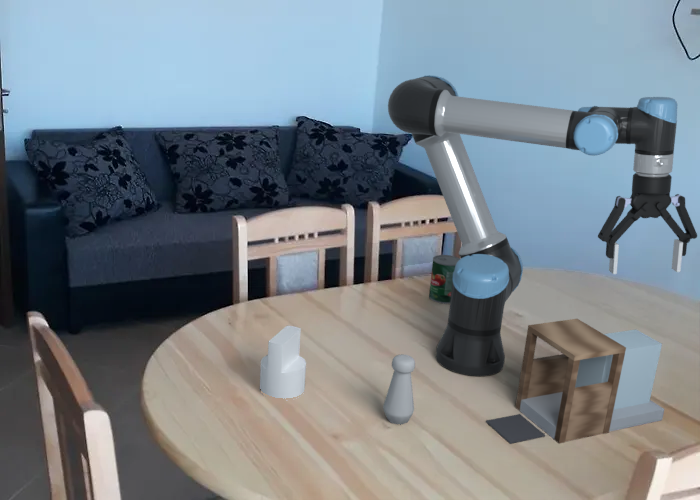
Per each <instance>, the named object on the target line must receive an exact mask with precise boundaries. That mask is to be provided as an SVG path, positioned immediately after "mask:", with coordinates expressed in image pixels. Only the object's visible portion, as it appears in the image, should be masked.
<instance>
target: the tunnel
mask: <svg viewBox="0 0 700 500" xmlns="http://www.w3.org/2000/svg"><path fill="white" fill-rule="evenodd" d="M604 334H605V333H602V332H600V331H599V330H597V329H595V328H594V327H592V326H590V325H589V324H587V322H584V321H582V320H581V319H579V318H572V319H571V318H570V319H566V320H564V319H563V320H557V321H549V322H542V323H535V324H534V323H533V324H528V325H527V331H526V338H525V343H524V351H523V356H522V362H521V363H522V364H521V369H520V376H519V382H518V388H517V396H516V399H515V400H516V401H515V407H514V408H515V409H517V410H518V411H519V412H520V405H521V400H523V399H527V398H532V397H538V396H543V395H548V394H554V393H559V392H563V393H562V399H561V404H560V410H559V415H558V421H557V426H556V432H555V438H554V439H553V440H554V441H555V442H557V443H558V444H562V443H563V444H564V443H565V442H569V441H574V440H579V439H584V438H589V437H595V436H598V435H604V434H608V433H610V432H609V429H610V424H611V420H612V415H613V410H614V405H615V400H616V395H617V390H618V385H619V380H620V375H621V371H622V366H623V361H624V356H625V351H626V347H624V346H623V345H621V344H619V343H618V342H616V341H614V340H613V339H611V338H609V337H607V336H606V335H604ZM538 338H539V339H541V340H542V341H543V342H545V343H547V344H548V345H550V346H551V347H552V348H553V349H555V350H557V351H558V352H560V353H562V354H555V355H550V356H543V357H536V358H535V352H536V348H537V347H536V345H537V339H538ZM607 355H613V358H612V363H611V368H610V373H609V378H608V382H604V383H598V384H593V385H587V386H582V387H576V388H575V385H576V380H577V374H578V369H579V363H580V360H582V359H588V358H595V357H601V356H607Z"/></svg>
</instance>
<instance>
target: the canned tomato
mask: <svg viewBox="0 0 700 500" xmlns="http://www.w3.org/2000/svg"><path fill="white" fill-rule="evenodd" d="M460 259H461V258H459V257H457V256H453V255H448V254H437V255H434V256H433V257H432V264H431V273H430V285H429V293H428V299H430V300H431V301H433V302H435V303H439V304H443V303H444V304H445V305H448V304H449V305H450V300H451V292H452V283H453V280H452V278H453V272H454V270H455V266H456V263H457V262H458V261H459V260H460Z"/></svg>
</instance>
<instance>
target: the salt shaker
mask: <svg viewBox="0 0 700 500" xmlns="http://www.w3.org/2000/svg"><path fill="white" fill-rule="evenodd" d="M391 368H392V370H393V373H392V376H391V380H390V383H389V386H388V390H387V392H386V396H385V400H384V403H383V406H382V407H383V408H382V409H383V412H384V414H385V416H386V419H387V420H388V421H389V422H390V423H391V424H394V425H398V424H400V426H401V424H402V425H405V424H407V423H408V422H409V421H410V420H411V418H412V416H413V414H414V411H415V406H414V405H415V403H414V393H413V384H412V383H413V382H412V372H414V370H415V368H416V360H415V358H413V357H412V356H411V355H408V354H397V355H395V356H393V359H392V361H391Z"/></svg>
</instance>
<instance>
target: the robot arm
mask: <svg viewBox="0 0 700 500" xmlns="http://www.w3.org/2000/svg"><path fill="white" fill-rule="evenodd" d="M387 102H388V103H387V110H388V116H389V119H390V120H391V122H392V124H393V125H394V126H395V127H397V129H399V130H400V131H402V132H404V133H406V134H411V136H412V139H413V141H414V143H415V145H417V146H419V147H421V148H423V149H424V151H425V153H426V156H427V157H428V158H427V159H428V160H429V162H430V166H431V168H432V170H433V173H434V176H435V178H436V182H437V183H438V185H439V188H440V191H441V194H442V196H443V199H444V201H445V204H446V207H447V210H448V211H449V214H450V216H451V219H452V222H453V224H454V226H455V230H456V232H457V234H458V237H459V239H460V242H461V247H459V251H458V256H459V257H460V260H459V261H458V262H457V263H456V266H455V270H454V272H453V278H452V280H453V283H452V292H451V300H450V304H449V308H448V319H447V325H446V327H445V329H444V332H443V333H442V335H441V337H440V340H439V341H438V344H437V346H436V351H435V353H436V354H435V359H436V361H437V362H438V364H439V365H441V366H442V367H444V368H445V369H447V370H449V371H451V372H453V373H456V374H461V375H465V376H472V377H487V376H492V375H495V374H498V373H500V372H501V371H502V370H503V368H504V364H505V358H506V357H505V351H504V346H503V339H502V336H501V330H502V323H503V317H504V316H503V315H504V309H505V304H506V303H507V300H508V299H509V298H510V296H511V295H512V293H513V292H515V290H516V289H517V288H518V287H519V285H520V283H521V280H522V277H523V273H524V272H523V271H524V267H523V266H524V265H523V260H522V257H521V256H520V255H519V252H518V251H516V249H515V248H513V247H512V246H511V245H510V242H509V240H508V238H507V237H508V236H507V235H506V234H504V233H502V232H499V230H497V227H496V224H495V222H494V219H493V217H492V214H491V211H490V209H489V206H488V204H487V202H486V201H487V200H486V198H485V197H484V196H485V195H484V194H483V191H482V189H481V185H480V183H479V181H478V177H477V175H476V173H475V170H474V168H473V164H472V162H471V159H470V158H469V154H468V152H467V150H466V146H465V144H464V141H463V138H462V136H461V135H463V136H464V135H466V136H471V137H472V136H473V137H481V138H487V139H496V140H502V141H510V142H517V143H525V144H532V145H538V146H539V145H540V146H549V147H556V148H563V149H569V150H572V151H580V153H581V152H582V153H583V154H585V155H588V156H593V157H594V156H601V155H603V154H605V153H607V152H608V151H610V150H611V149H612V148H613V146H615V145H616V144H617V145H619V144H621V145H622V144H624V145H625V144H626V145H634V157H633V158H634V159H633V169H632V170H633V172H635V173H634V174H633V175H632V181H631V182H632V183H631V185H632V186H631V195H630V196H629V197H622V196H621V195H618V196H615V200H614V205H613V208H612V210H611V212H610V213H609V215H608V217H607V218H606V220H605V222H604V224H603V225H602V227H601V229H600V230H599V233H598V235H597V238H598V239H599V240H600V241H602V242H605V243H606V244H605V245H606V247H605V256H606V257H607V258H608V259H609V263H608V264H609V265H608V271H609V272H610V273H611V274H612V275H617V274H618V261H619V249H620V247H619V246H620V245H619V244H618V243H617V242H618V240H619V239H621V237H622V236H623V235H624V234H625V233H626V232H627V231H628V229H630V227H632V225H633V224H634V223H635V222H637V221H638V220H639V219H640V218H642V219H650V218H652V219H659V217H661V218H662V219H663V220H664V222H665V224H666V225H668V227H669V228H670V229H671V230H672V232H673V233H674V234H675V236H676V237H677V238H678V239H675V238H674V239H673V250H672V259H671V269H672V271H674V272H676V273H680V272H681V268H682V260H683V259H682V258H683V257H685V256H686V254H687V248H688V247H687V246H688V244H689V243H690V241H691V240H695V239H697V238H698V232H696V229H695V228H696V227H694V224H693V222H692V219H691V217H690V214H689V212H688V210H687V208H686V197H685V196H683V195H681V194H679V193H677V194H674V195H673V196H671V195H670V194H671V191H672V190H671V189H672V188H671V187H672V178H673V177H672V176H671V173H672V172H673V165H674V154H675V153H674V152H675V143H676V142H675V141H676V134H677V122H678V103H677V101H676V99H675V98H673V97H667V96H644V97H641V98H640V99H638V103H637V105H636V106H633V107H623V106H622V107H621V106H620V107H617V106H597V105H594V106H582V107H580V108H578V109H577V110H572V109H571V110H570V109H564V108H557V107H549V106H548V107H547V106H538V105H531V104H523V103H517V102H516V103H514V102H507V101H498V100H497V101H496V100H488V99H482V98H475V97H474V98H473V97H464V96H459V94H458V91H457V90H456V87H455V86H454V85H453V84H452V83H451V82H450V81H449V80H447V79H446V78H444V77H442V76H441V77H440V76H438V75H424V76H421V77H417V78H412V79H409V80H405V81H403V82H401V83H399V84H397V86H396V87H394V89H393V90H392V91H391V93H390V95H389V98H388V101H387ZM671 204H672V205H673V206H674V208H675V210H676V212H677V214H678V217H679V220H680V221H681V224H682V226H683V229H684V230H683V229H682V228H681V226H680V225H679V223H677V221H675V219H674V218H673V217H672V215H671V214H670V212H669V211H668V210H667V209H668V208H669V206H670V205H671ZM628 205H630V206H631V208H630V209H629V211H628V212H627V213H626V215H625V216H624V218H622V220H621V221H619V219H620V218H621V217H622V215H623V213H624V210H625V209H626V208H627V207H628ZM617 223H618V224H617ZM684 231H685V232H684Z"/></svg>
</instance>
